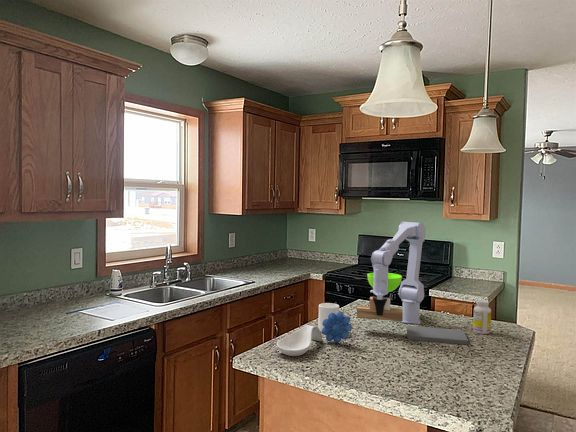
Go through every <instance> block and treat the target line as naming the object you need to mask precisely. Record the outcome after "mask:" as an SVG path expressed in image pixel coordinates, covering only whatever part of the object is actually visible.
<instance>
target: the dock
mask: <svg viewBox="0 0 576 432" xmlns="http://www.w3.org/2000/svg"><path fill="white" fill-rule="evenodd" d="M406 335H407V336H406V337H407V340H410V341H419V342H420V341H422V342H434V343H444V344H457V345H467V346H468V345H469V339H468V338H467V337H468V336H466V333H465V332H464V330H463V329H452V328H442V327H441V328H440V327H438V328H437V327H429V326H428V327H427V326H415V325H414V326H413V325H406Z"/></svg>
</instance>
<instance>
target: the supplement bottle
mask: <svg viewBox="0 0 576 432" xmlns="http://www.w3.org/2000/svg"><path fill="white" fill-rule="evenodd" d="M475 302H476V303H475V304H476V305H475V306H474V308H473V317H472V318H473V319H472V320H473V322H472V325H473V326H472V330H473V332H475V333H476V334H479V335H480V334H482V335H488V334H491V332H492V331H491V327H492V326H491V325H492V309H491V308H490V307H489V305H490V304H489V303H490V302H489V301H488V300H486V299H477V300H476V301H475Z"/></svg>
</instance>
